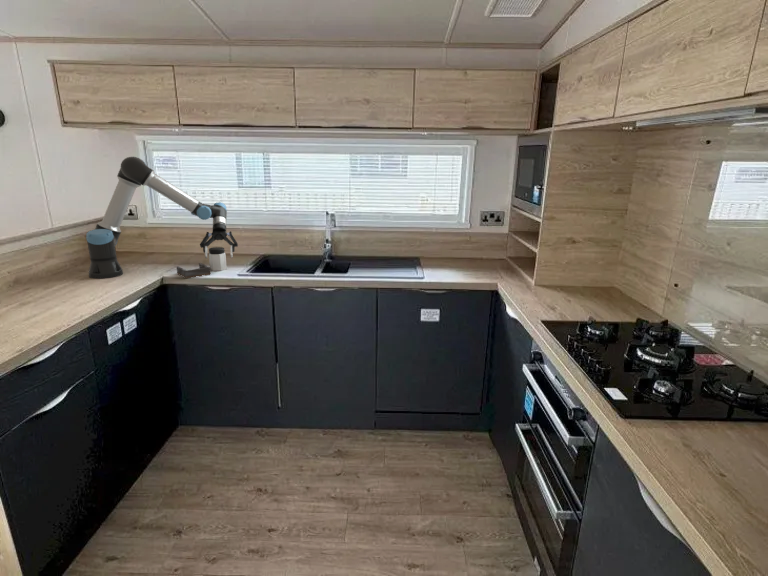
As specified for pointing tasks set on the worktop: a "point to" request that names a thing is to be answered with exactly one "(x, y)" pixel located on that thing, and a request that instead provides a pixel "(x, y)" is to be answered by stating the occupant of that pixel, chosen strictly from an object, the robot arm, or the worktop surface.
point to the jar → (217, 259)
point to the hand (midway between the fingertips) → (218, 256)
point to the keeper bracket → (194, 271)
